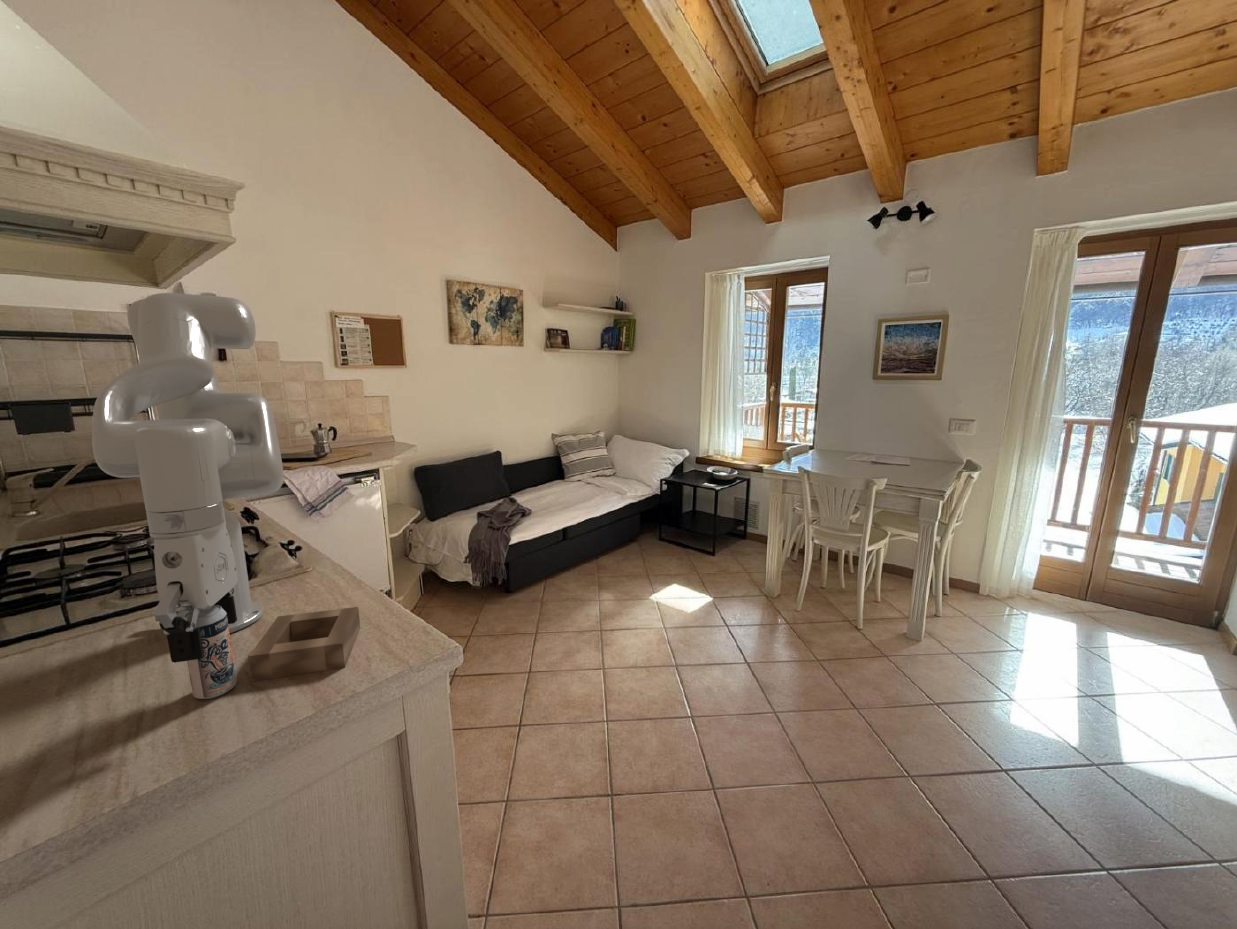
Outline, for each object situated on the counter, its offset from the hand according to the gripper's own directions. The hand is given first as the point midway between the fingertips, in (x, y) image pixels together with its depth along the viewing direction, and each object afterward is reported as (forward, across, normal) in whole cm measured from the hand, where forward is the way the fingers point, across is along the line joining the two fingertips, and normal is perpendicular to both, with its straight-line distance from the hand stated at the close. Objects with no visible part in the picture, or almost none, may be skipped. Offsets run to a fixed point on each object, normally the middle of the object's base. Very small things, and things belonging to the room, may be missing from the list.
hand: (207, 640), depth 67 cm
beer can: (+8, +1, 0) cm, 8 cm away
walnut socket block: (+8, +8, -10) cm, 15 cm away
